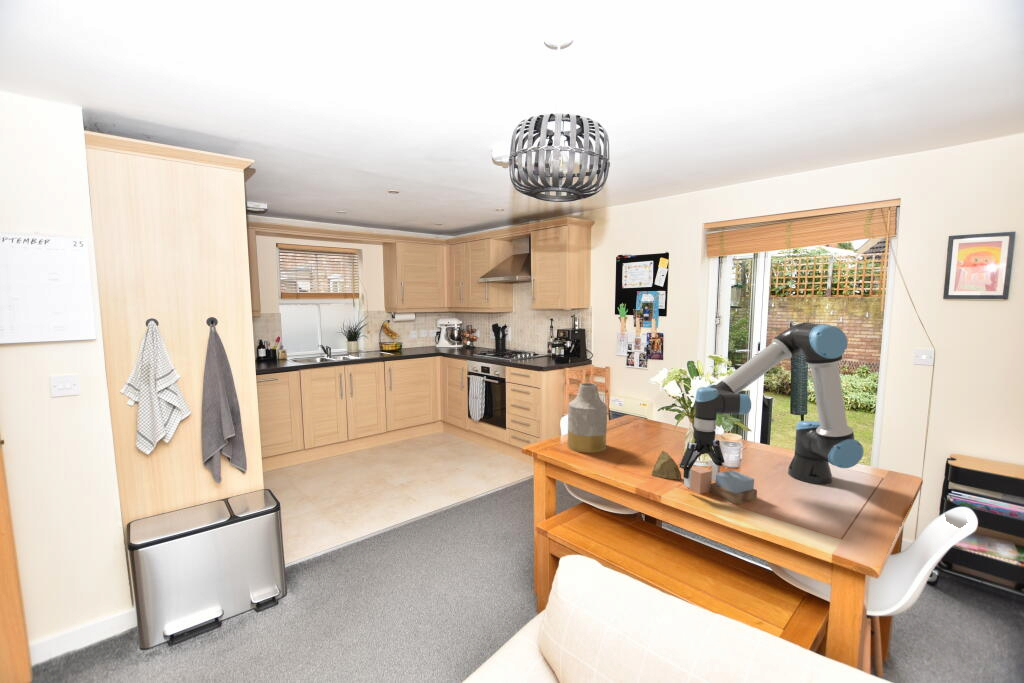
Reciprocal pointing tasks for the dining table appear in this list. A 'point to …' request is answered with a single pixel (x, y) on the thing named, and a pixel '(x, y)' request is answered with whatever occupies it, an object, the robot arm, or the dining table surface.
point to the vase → (587, 421)
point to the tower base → (733, 494)
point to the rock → (666, 467)
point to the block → (700, 479)
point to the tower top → (734, 481)
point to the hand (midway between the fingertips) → (700, 483)
